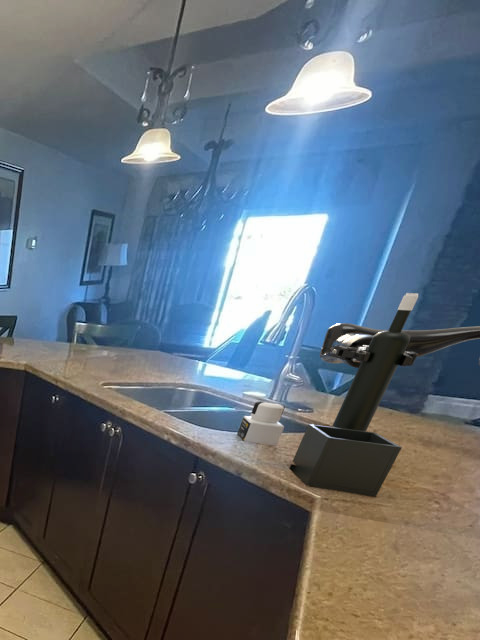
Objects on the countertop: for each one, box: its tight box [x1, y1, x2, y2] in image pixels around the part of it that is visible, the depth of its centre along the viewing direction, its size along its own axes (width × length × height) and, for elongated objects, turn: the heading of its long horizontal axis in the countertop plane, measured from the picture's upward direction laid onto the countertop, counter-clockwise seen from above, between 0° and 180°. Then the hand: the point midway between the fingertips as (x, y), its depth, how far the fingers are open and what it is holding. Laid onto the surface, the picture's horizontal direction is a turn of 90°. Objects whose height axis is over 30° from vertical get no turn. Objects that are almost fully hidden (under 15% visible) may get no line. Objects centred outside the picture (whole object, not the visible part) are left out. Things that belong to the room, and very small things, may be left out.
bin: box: [288, 423, 403, 498], centre depth 106 cm, size 11×11×11 cm
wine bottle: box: [332, 292, 420, 431], centre depth 109 cm, size 6×6×30 cm
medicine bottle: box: [236, 400, 286, 447], centre depth 128 cm, size 7×7×12 cm
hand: (386, 359), depth 107 cm, fingers closed on wine bottle, 5 cm apart
